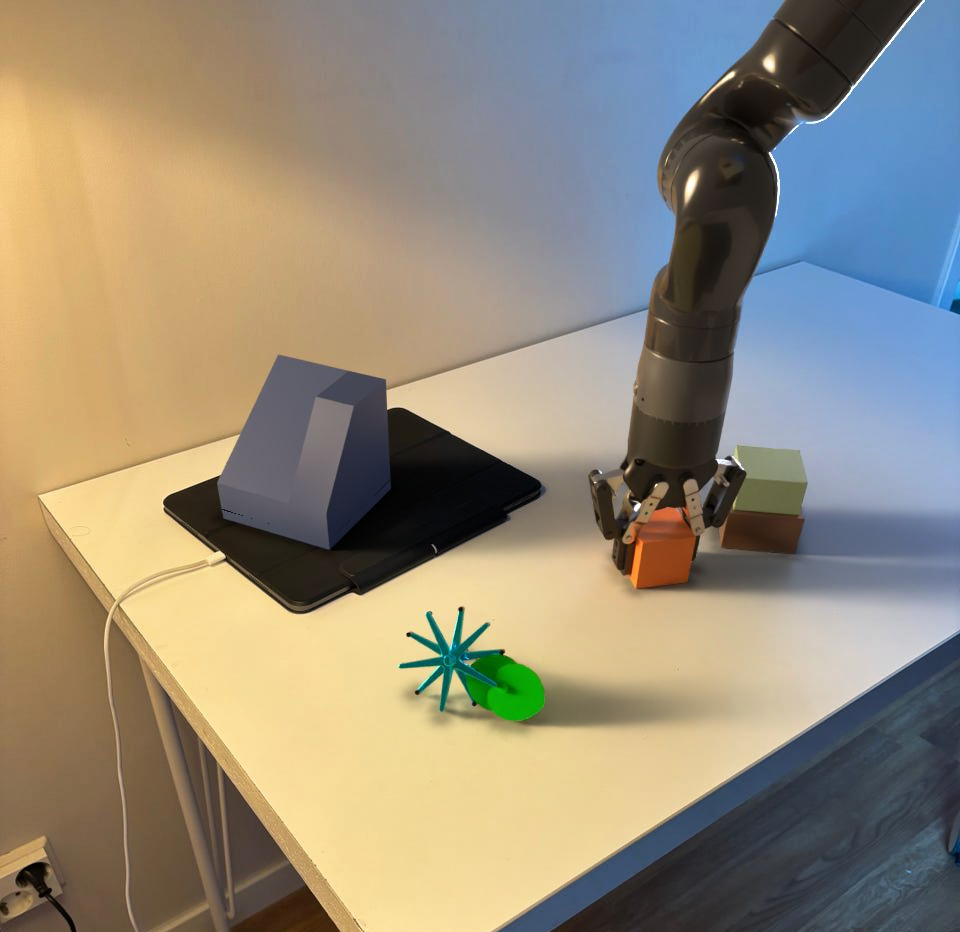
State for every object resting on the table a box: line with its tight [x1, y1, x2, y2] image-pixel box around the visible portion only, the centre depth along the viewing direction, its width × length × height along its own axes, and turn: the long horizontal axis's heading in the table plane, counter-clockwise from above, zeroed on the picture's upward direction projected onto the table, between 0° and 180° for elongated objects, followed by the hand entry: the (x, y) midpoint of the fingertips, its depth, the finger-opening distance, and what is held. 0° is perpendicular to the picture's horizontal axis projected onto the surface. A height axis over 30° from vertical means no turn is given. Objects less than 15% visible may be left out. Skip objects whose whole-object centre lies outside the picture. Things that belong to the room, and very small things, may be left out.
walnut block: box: [718, 505, 806, 555], centre depth 95 cm, size 7×7×4 cm
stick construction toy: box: [398, 605, 546, 722], centre depth 78 cm, size 12×7×8 cm
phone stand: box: [216, 354, 392, 551], centre depth 94 cm, size 12×12×12 cm
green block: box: [733, 444, 809, 515], centre depth 92 cm, size 6×6×4 cm
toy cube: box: [627, 507, 696, 590], centre depth 89 cm, size 5×5×5 cm
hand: (652, 565), depth 91 cm, fingers closed on toy cube, 5 cm apart
